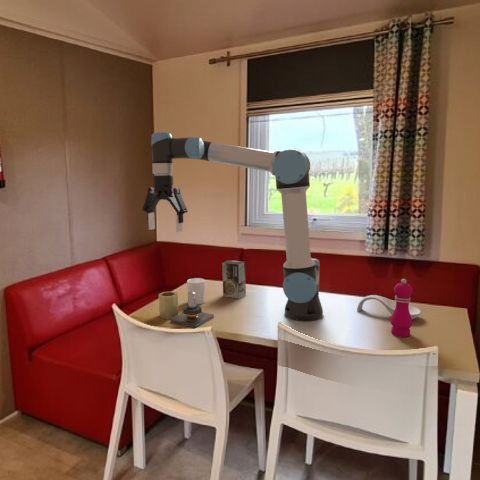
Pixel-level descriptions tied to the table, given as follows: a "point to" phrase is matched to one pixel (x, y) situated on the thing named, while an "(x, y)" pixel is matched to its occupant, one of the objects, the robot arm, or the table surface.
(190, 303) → the pipe stand
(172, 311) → the sleeve
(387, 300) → the white curved piece
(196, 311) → the ring
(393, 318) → the pepper mill
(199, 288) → the white cup
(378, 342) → the table surface
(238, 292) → the coffee box
